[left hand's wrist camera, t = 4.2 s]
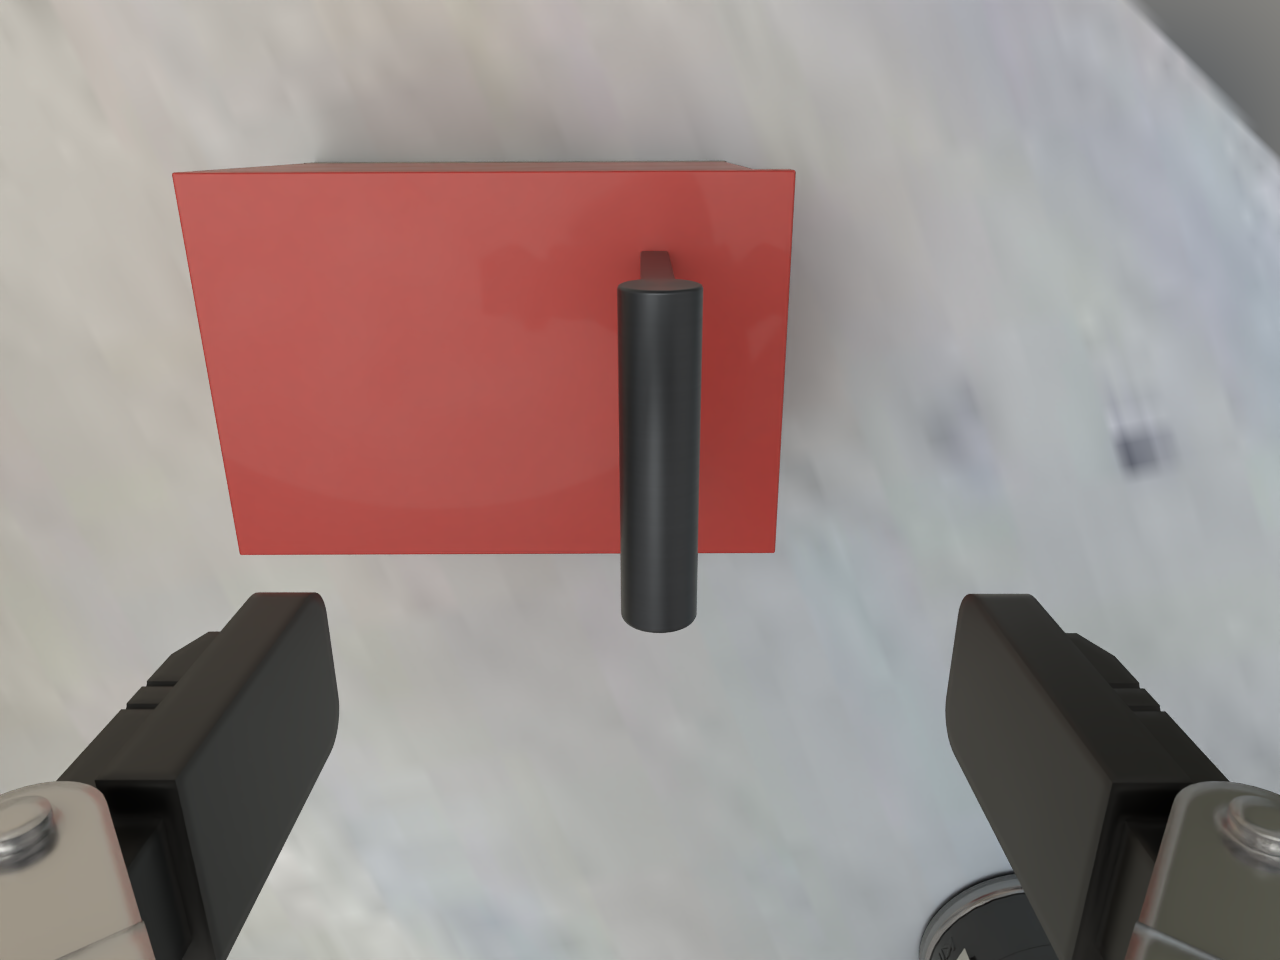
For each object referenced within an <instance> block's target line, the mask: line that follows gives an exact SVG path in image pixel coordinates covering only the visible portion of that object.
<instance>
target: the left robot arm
mask: <svg viewBox="0 0 1280 960" xmlns="http://www.w3.org/2000/svg"><path fill="white" fill-rule="evenodd" d="M945 711H946V726H947V733H948V738H949V741H950V745H951V748H952V750H953V753H954V755H955V757H956V759H957V761H958V763H959V765H960V767H961V769H962V771H963V773H964V775H965V776H966V778H967V780H968V782H969V784H970V786H971V788H972V790H973V792H974V794H975V796H976V798H977V800H978V802H979V804H980V806H981V808H982V810H983V812H984V814H985V816H986V818H987V820H988V822H989V823H990V825H991V827H992V829H993V831H994V833H995V835H996V837H997V839H998V841H999V843H1000V845H1001V847H1002V849H1003V851H1004V853H1005V855H1006V857H1007V859H1008V861H1009V863H1010V865H1011V867H1012V869H1013V871H1014V872H1015V874H1011V875H1006V876H1001V877H997V878H993V879H990V880H987V881H984V882H982V883H979V884H977V885H975V886H972V887H970V888H968V889H967V890H965V891H963V892H961V893H960V894H958V895H957V896H955V897H954V898H953V899H951V900H950V901H949V902H948V903H946V904H945V905H944V906H943V907H942V908H941V909H940V910H939V911H938V912H937V914H936V915H935V916H934V917H933V919H932V920H931V921H930V923H929V925H928V926H927V928H926V930H925V932H924V935H923V937H922V940H921V944H920V950H919V960H1280V795H1278V794H1276V793H1273V792H1271V791H1268V790H1264V789H1261V788H1258V787H1254V786H1250V785H1245V784H1241V783H1234V782H1230V781H1229V780H1228V779H1227V778H1226V777H1225V776H1224V775H1223V774H1222V773H1221V772H1220V771H1219V770H1218V768H1217V767H1216V766H1215V765H1214V764H1213V763H1212V762H1211V761H1210V760H1209V759H1208V758H1207V756H1206V755H1205V754H1204V753H1203V752H1202V751H1201V750H1200V749H1199V748H1198V747H1197V746H1196V744H1195V743H1194V742H1193V741H1192V740H1191V739H1190V738H1189V737H1188V736H1187V735H1186V734H1185V732H1184V731H1183V730H1182V729H1181V728H1180V727H1179V726H1178V725H1177V724H1176V723H1175V722H1174V720H1173V719H1172V718H1171V717H1170V716H1169V715H1168V714H1167V713H1166V712H1161V711H1160V705H1159V704H1158V703H1157V702H1156V701H1155V700H1154V699H1153V698H1152V696H1151V695H1150V694H1149V693H1148V692H1147V691H1146V690H1145V689H1140V687H1139V682H1138V681H1137V680H1136V679H1135V678H1134V677H1133V676H1132V675H1131V674H1130V672H1129V671H1128V670H1127V669H1126V668H1125V667H1124V666H1123V665H1122V664H1121V663H1120V662H1119V660H1118V659H1117V658H1116V657H1115V656H1113V655H1112V654H1110V653H1108V652H1107V651H1105V650H1103V649H1102V648H1100V647H1098V646H1097V645H1095V644H1093V643H1092V642H1090V641H1088V640H1087V639H1085V638H1084V637H1082V636H1080V635H1079V634H1077V633H1065V632H1064V631H1063V630H1062V629H1061V628H1060V627H1059V625H1058V624H1057V623H1056V622H1055V621H1054V620H1053V618H1052V617H1051V616H1050V615H1049V614H1048V613H1047V611H1046V610H1045V609H1044V608H1043V607H1042V606H1041V604H1040V603H1039V602H1038V601H1037V600H1036V599H1035V598H1034V597H1033V596H1032V595H1030V594H968V595H966V596H965V597H964V599H963V600H962V602H961V605H960V608H959V613H958V620H957V627H956V634H955V640H954V647H953V654H952V661H951V668H950V675H949V682H948V689H947V696H946V709H945ZM338 721H339V698H338V690H337V683H336V676H335V669H334V662H333V655H332V648H331V641H330V634H329V627H328V620H327V613H326V608H325V604H324V601H323V599H322V597H321V596H320V595H319V594H318V593H255V594H253V595H252V596H251V597H250V598H249V599H248V600H247V601H246V602H245V603H244V605H243V606H242V607H241V608H240V609H239V610H238V612H237V613H236V614H235V615H234V616H233V618H232V619H231V620H230V621H229V622H228V623H227V625H226V626H225V627H224V628H223V629H222V630H221V632H208V633H206V634H204V635H203V636H201V637H199V638H198V639H196V640H194V641H193V642H191V643H189V644H188V645H186V646H184V647H183V648H181V649H180V650H178V651H176V652H175V653H173V654H171V655H170V656H169V657H168V659H167V660H166V661H165V662H164V663H163V664H162V665H161V666H160V667H159V669H158V670H157V671H156V672H155V673H154V674H153V675H152V676H151V677H150V678H149V680H148V681H147V686H146V687H141V688H140V689H139V691H138V692H137V693H136V694H135V695H134V696H133V697H132V698H131V699H130V700H129V702H128V703H127V707H126V709H121V710H120V711H119V713H118V714H117V715H116V716H115V717H114V718H113V719H112V720H111V721H110V722H109V724H108V725H107V726H106V727H105V728H104V729H103V730H102V731H101V732H100V733H99V735H98V736H97V737H96V738H95V739H94V740H93V741H92V742H91V743H90V744H89V746H88V747H87V748H86V749H85V750H84V751H83V752H82V753H81V754H80V755H79V757H78V758H77V759H76V760H75V761H74V762H73V763H72V764H71V765H70V766H69V768H68V769H67V770H66V771H65V772H64V773H63V774H62V775H61V776H60V777H59V779H58V780H57V781H54V782H46V783H39V784H35V785H30V786H26V787H22V788H19V789H16V790H12V791H9V792H7V793H4V794H2V795H0V960H226V959H227V957H228V955H229V953H230V951H231V949H232V947H233V945H234V943H235V941H236V939H237V937H238V935H239V933H240V931H241V929H242V927H243V925H244V923H245V921H246V919H247V917H248V915H249V913H250V911H251V909H252V907H253V905H254V903H255V901H256V899H257V897H258V895H259V893H260V891H261V889H262V887H263V885H264V883H265V881H266V879H267V878H268V876H269V874H270V872H271V870H272V868H273V866H274V864H275V862H276V860H277V858H278V856H279V854H280V852H281V850H282V848H283V846H284V844H285V842H286V840H287V838H288V836H289V834H290V832H291V830H292V828H293V826H294V824H295V822H296V820H297V818H298V816H299V814H300V812H301V810H302V808H303V806H304V804H305V802H306V800H307V798H308V796H309V794H310V792H311V790H312V788H313V786H314V784H315V782H316V780H317V778H318V776H319V774H320V772H321V770H322V768H323V766H324V764H325V762H326V761H327V759H328V757H329V755H330V753H331V750H332V748H333V745H334V742H335V738H336V734H337V729H338Z"/></svg>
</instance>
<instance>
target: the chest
mask: <svg viewBox="0 0 1280 960" xmlns="http://www.w3.org/2000/svg"><path fill="white" fill-rule="evenodd" d="M712 169H750V168H746V167H742V166H739V165H735V164H731V163H727V162H726V161H550V162H314V163H304V164H292V165H277V166H263V167H249V168H234V169H220V170H206V171H192V172H229V171H470V170H712Z"/></svg>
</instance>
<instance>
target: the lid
mask: <svg viewBox="0 0 1280 960" xmlns="http://www.w3.org/2000/svg"><path fill="white" fill-rule="evenodd" d="M795 174H796V172H795V170H791V169H712V170H470V171H229V172H176V173H172V177H173V182H174V188H175V194H176V199H177V205H178V210H179V216H180V222H181V227H182V233H183V238H184V244H185V249H186V255H187V261H188V266H189V272H190V277H191V283H192V289H193V294H194V300H195V305H196V311H197V317H198V322H199V328H200V333H201V339H202V345H203V350H204V356H205V361H206V367H207V372H208V378H209V384H210V389H211V395H212V400H213V406H214V412H215V417H216V423H217V428H218V434H219V440H220V445H221V451H222V456H223V462H224V467H225V473H226V479H227V484H228V490H229V495H230V501H231V507H232V512H233V518H234V523H235V529H236V535H237V540H238V546H239V551H240V555H320V554H585V553H621V615H622V617H623V619H624V621H625V622H626V623H627V624H628V625H630V626H631V627H633V628H635V629H638V630H641V631H645V632H652V633H666V632H673V631H677V630H680V629H683V628H685V627H687V626H689V625H690V624H691V623H692V622H693V621H694V619H695V617H696V611H697V564H698V553H774V552H775V541H776V523H777V504H778V486H779V468H780V449H781V431H782V413H783V394H784V376H785V358H786V339H787V321H788V303H789V284H790V266H791V248H792V229H793V211H794V192H795Z"/></svg>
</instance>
